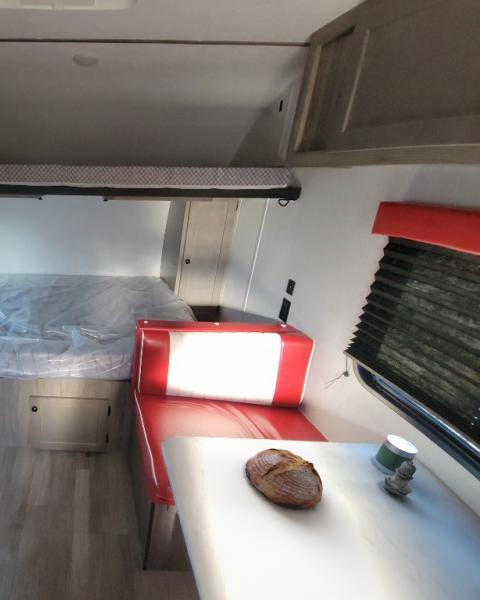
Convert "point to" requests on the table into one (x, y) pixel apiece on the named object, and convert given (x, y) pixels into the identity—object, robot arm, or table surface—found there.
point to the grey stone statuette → (400, 481)
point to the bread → (285, 478)
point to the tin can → (394, 454)
